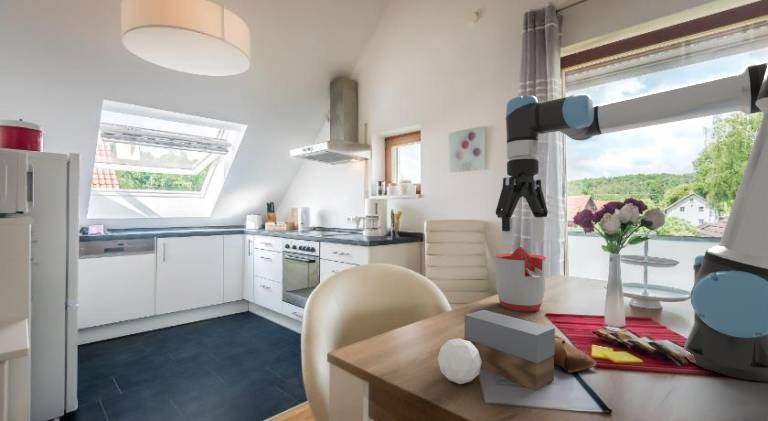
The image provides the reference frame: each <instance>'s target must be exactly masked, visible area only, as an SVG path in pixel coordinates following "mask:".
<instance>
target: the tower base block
mask: <svg viewBox="0 0 768 421" xmlns="http://www.w3.org/2000/svg"><path fill="white" fill-rule="evenodd" d="M463 340H467V339H465V338H463ZM467 341H470V340H467ZM470 342H471V343H472V344H473V345H474V346H475V347H476V348H477V349H478V352H479V355H480V358H481V361H482V363H481V368H480V369H483V370H485V371H487V372H490V373H492V374H494V375H497V376H499V377H501V376H502V378H503V377H504V379H506V380H508V381H511V382H513V383H515V384H518V385H520V386H523V387H526V388H528V389H531V390H533V391H536V392H537V391H539V390H540V389H541V388H543V387H546V385H548V384H550V383H552V382H553V381H554V380H555V363H554V355H553V356H551V357H549V358H547V359H545V360H543V361H541V362H539V363H534V362H531V361H528V360H525V359H522V358H519V357H516V356H513V355H511V354H508V353H505V352H502V351H499V350H496V349H493V348H490V347H488V346H485V345H482V344H479V343H476V342H473V341H470Z"/></svg>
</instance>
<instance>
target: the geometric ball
mask: <svg viewBox="0 0 768 421" xmlns="http://www.w3.org/2000/svg"><path fill="white" fill-rule="evenodd" d="M437 362H438V365H439V369H440V372H441V373H442V374H443V375H444V376H445V377H446V379H447V380H448V381H450V382H453V383H456V384H458V385H463V384H466V383H471V382H472V381H474V379H475V378H476V377H478V375H479V374H480V372H481V369H482V368H481V363H482V361H481V358H480V355H479V352H478V349H477V348H476V347H475V346H474V345H473V344H472V343H471V342H470V341H467V340H464V338H460V337H459V338H454V339H448V340H447V341H446V342H445V343H444V344H443V345H442V346H440V350H439V353H438V356H437Z"/></svg>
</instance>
